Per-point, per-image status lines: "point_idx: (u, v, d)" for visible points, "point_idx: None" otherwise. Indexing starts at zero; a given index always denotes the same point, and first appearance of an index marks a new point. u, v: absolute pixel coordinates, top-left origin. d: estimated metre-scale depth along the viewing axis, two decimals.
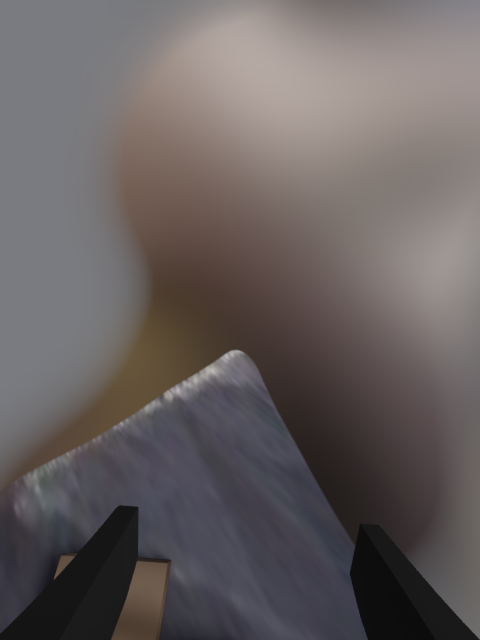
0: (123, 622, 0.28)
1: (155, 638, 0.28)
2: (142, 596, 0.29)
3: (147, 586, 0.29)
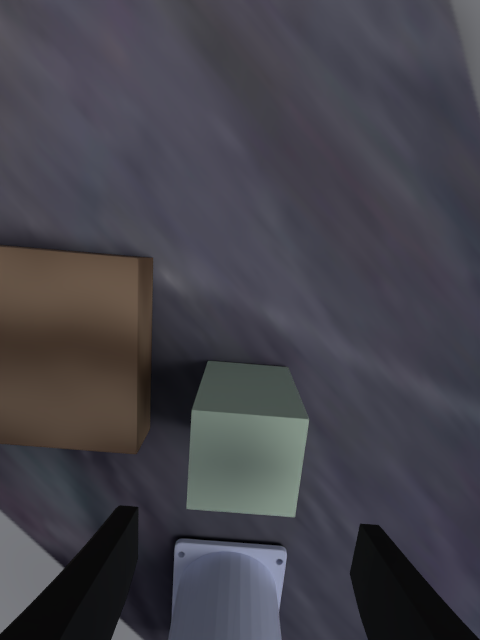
0: (73, 341, 0.15)
1: (136, 362, 0.16)
2: (99, 307, 0.15)
3: (104, 293, 0.15)
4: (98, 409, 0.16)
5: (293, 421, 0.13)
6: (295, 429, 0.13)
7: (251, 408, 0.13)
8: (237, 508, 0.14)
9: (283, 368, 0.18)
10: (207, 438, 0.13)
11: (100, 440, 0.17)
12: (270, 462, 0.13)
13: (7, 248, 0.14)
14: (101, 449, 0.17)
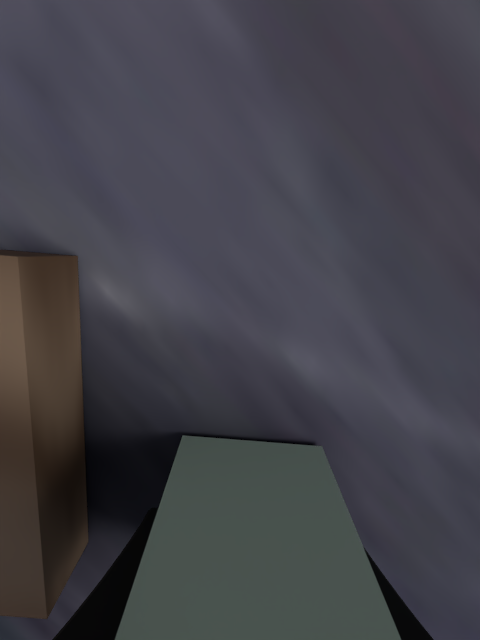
0: None
1: (33, 461, 0.08)
2: None
3: None
4: None
5: None
6: None
7: (264, 630, 0.05)
8: None
9: (314, 450, 0.10)
10: None
11: None
12: None
13: None
14: None
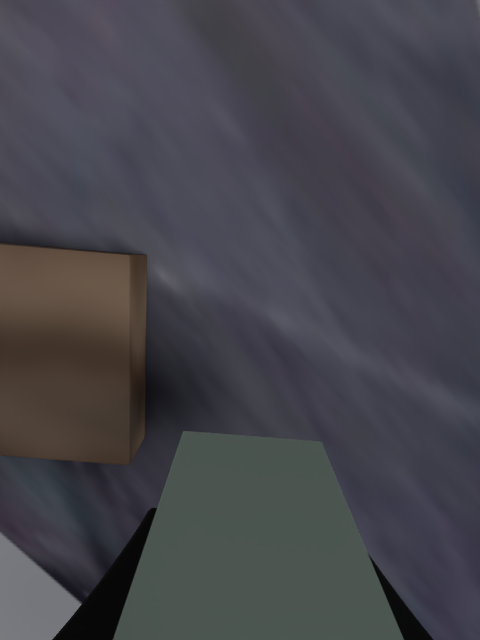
0: (60, 345, 0.14)
1: (128, 367, 0.15)
2: (87, 308, 0.14)
3: (93, 293, 0.14)
4: (88, 417, 0.15)
5: None
6: None
7: (264, 617, 0.05)
8: None
9: (314, 446, 0.10)
10: None
11: (90, 450, 0.16)
12: None
13: None
14: (92, 460, 0.16)
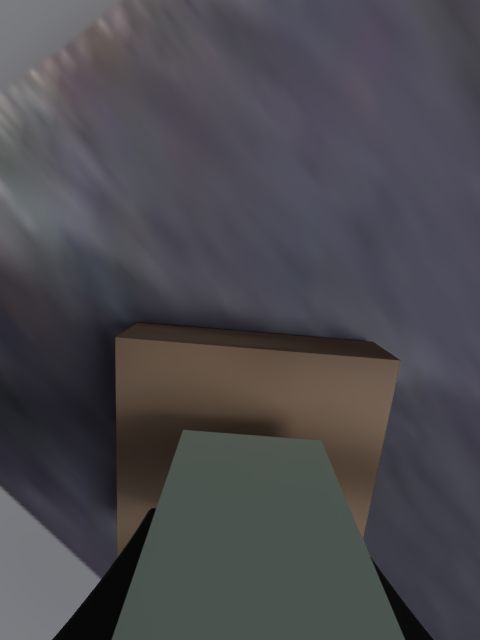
0: None
1: (372, 480, 0.13)
2: (339, 418, 0.12)
3: (349, 402, 0.12)
4: None
5: None
6: None
7: (264, 616, 0.05)
8: None
9: (314, 445, 0.10)
10: None
11: None
12: None
13: (235, 348, 0.11)
14: None
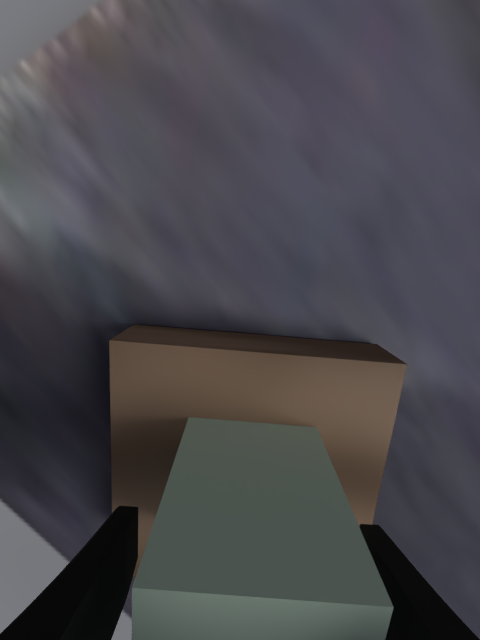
0: None
1: (377, 488, 0.12)
2: (342, 424, 0.11)
3: (354, 407, 0.11)
4: None
5: (357, 611, 0.06)
6: (362, 624, 0.06)
7: (263, 567, 0.06)
8: None
9: (310, 431, 0.11)
10: None
11: None
12: None
13: (235, 352, 0.11)
14: None
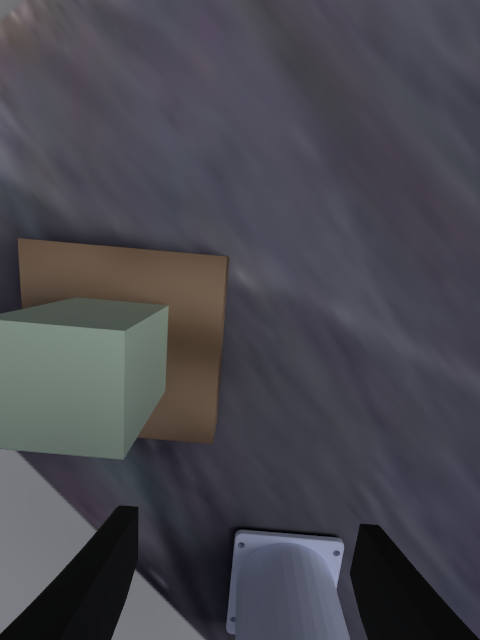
0: None
1: (218, 355, 0.17)
2: (187, 303, 0.16)
3: (193, 289, 0.16)
4: (179, 399, 0.17)
5: (105, 334, 0.10)
6: (109, 343, 0.10)
7: (63, 321, 0.11)
8: (52, 447, 0.11)
9: (161, 305, 0.16)
10: (4, 356, 0.10)
11: (179, 430, 0.17)
12: (84, 388, 0.11)
13: (105, 246, 0.15)
14: (179, 439, 0.18)
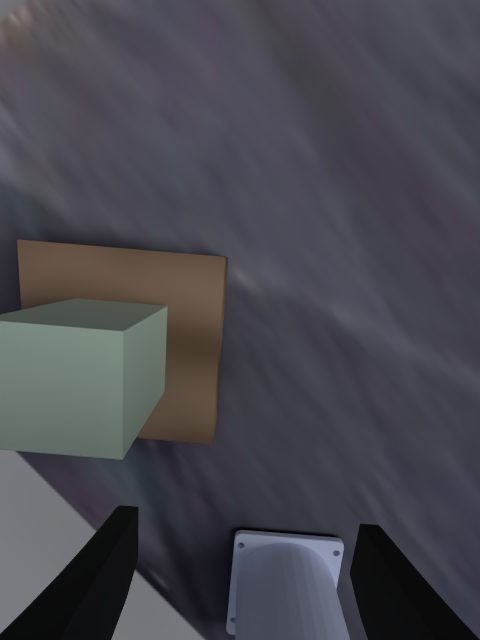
0: None
1: (217, 355, 0.17)
2: (186, 303, 0.16)
3: (192, 290, 0.16)
4: (178, 400, 0.17)
5: (104, 335, 0.10)
6: (108, 344, 0.10)
7: (62, 322, 0.11)
8: (51, 448, 0.11)
9: (160, 306, 0.16)
10: (3, 356, 0.10)
11: (178, 430, 0.18)
12: (83, 389, 0.11)
13: (104, 247, 0.15)
14: (179, 439, 0.18)
